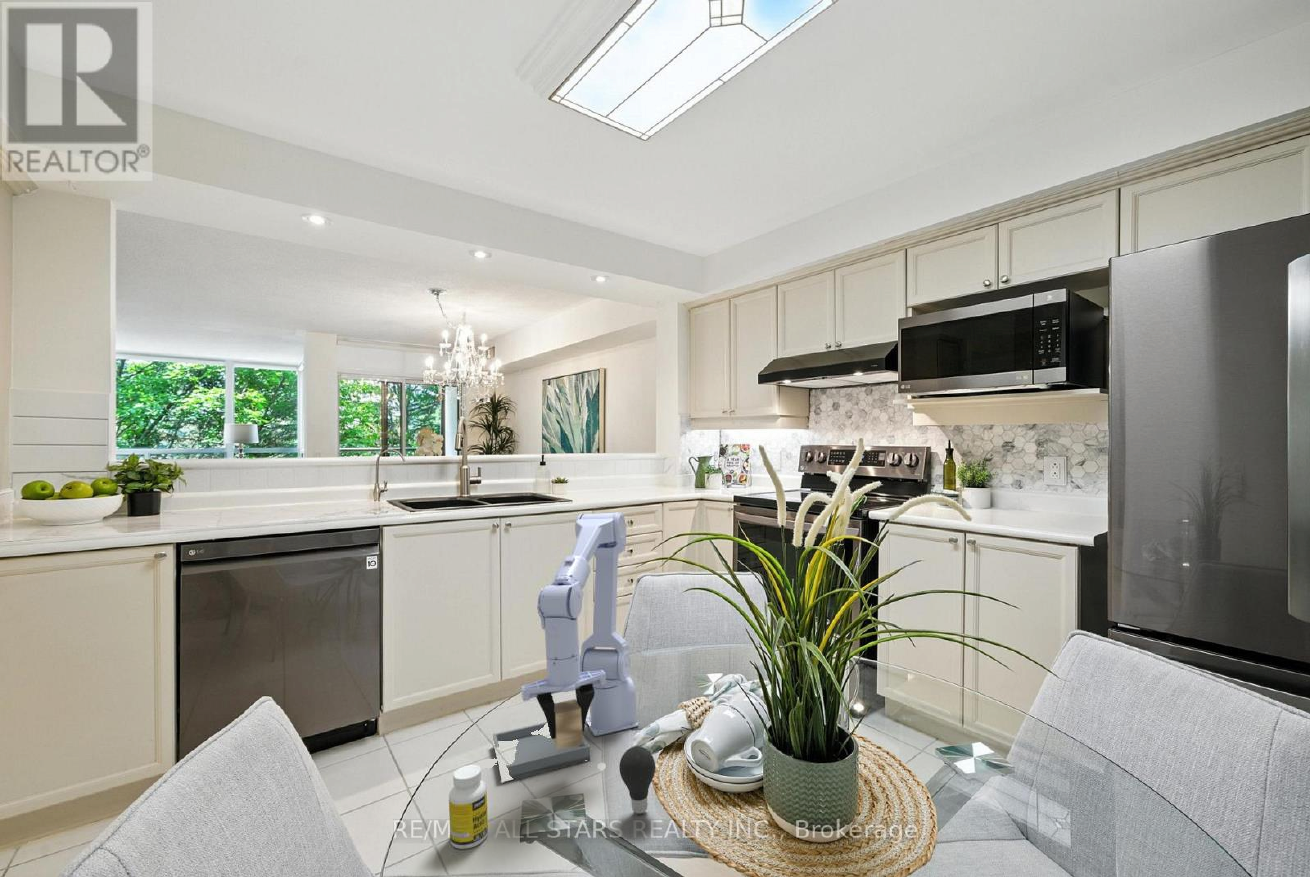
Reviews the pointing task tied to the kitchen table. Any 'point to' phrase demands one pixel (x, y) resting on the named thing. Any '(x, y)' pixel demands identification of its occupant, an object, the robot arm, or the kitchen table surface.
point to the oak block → (568, 724)
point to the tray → (539, 752)
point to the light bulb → (637, 775)
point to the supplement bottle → (468, 808)
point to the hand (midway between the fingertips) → (567, 732)
